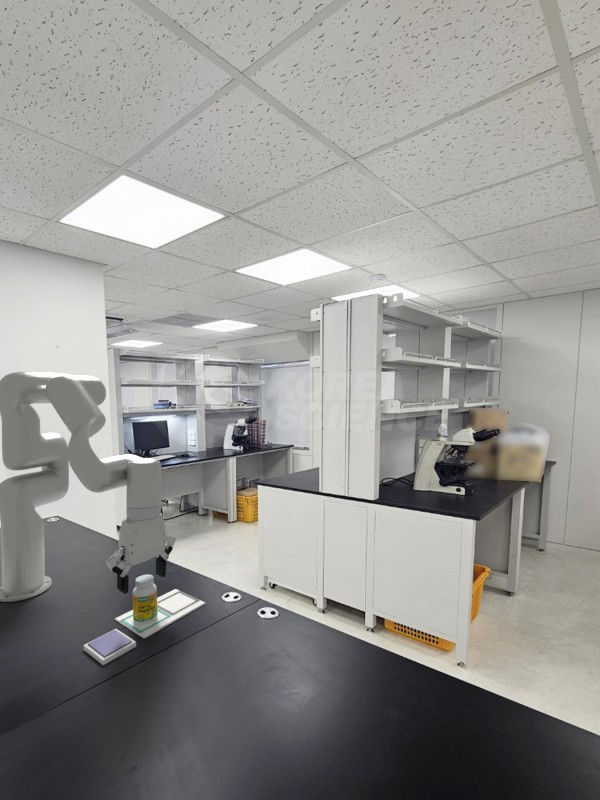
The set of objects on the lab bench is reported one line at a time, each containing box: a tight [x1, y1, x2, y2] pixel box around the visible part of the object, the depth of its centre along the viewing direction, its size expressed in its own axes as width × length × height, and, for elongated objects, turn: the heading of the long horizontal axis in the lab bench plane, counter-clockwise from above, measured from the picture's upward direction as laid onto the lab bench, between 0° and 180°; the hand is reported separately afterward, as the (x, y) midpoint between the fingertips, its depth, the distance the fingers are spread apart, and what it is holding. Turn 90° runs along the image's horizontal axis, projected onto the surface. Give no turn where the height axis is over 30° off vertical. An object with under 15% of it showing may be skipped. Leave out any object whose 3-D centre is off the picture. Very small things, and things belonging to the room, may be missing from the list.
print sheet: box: [114, 588, 206, 639], centre depth 95 cm, size 12×17×1 cm
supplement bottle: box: [132, 574, 158, 624], centre depth 92 cm, size 5×5×10 cm
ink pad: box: [83, 628, 137, 666], centre depth 82 cm, size 8×7×1 cm
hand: (142, 583), depth 92 cm, fingers open, 9 cm apart
